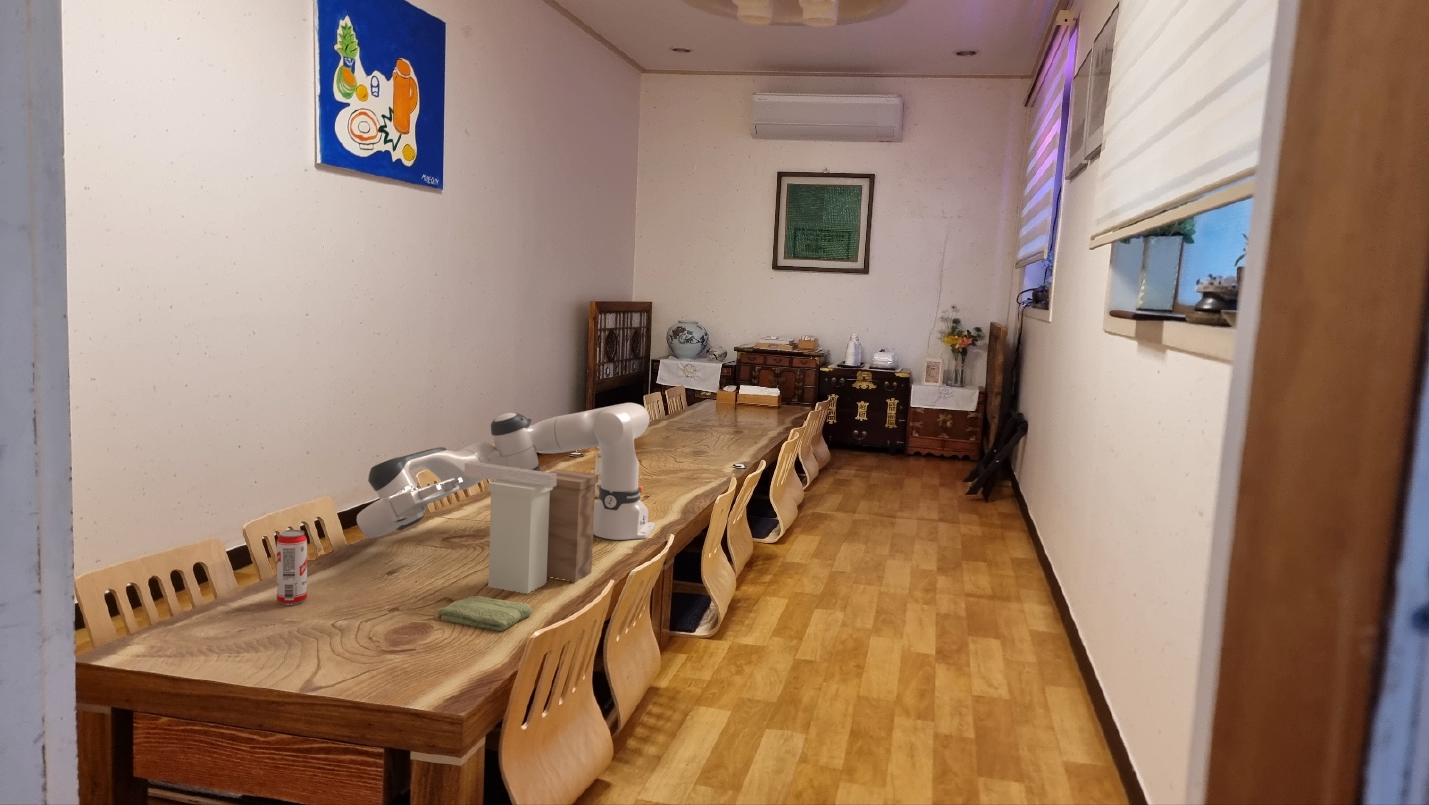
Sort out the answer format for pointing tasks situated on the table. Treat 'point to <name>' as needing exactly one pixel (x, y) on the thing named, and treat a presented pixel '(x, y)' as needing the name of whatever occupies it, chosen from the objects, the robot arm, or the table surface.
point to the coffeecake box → (598, 471)
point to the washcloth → (485, 612)
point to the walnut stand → (571, 525)
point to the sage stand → (518, 536)
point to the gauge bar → (510, 474)
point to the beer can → (291, 567)
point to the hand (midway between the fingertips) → (449, 483)
